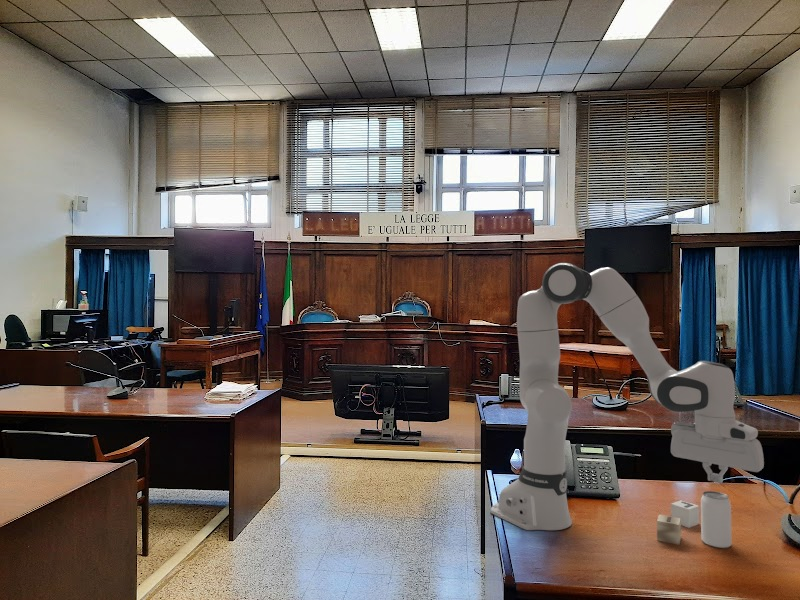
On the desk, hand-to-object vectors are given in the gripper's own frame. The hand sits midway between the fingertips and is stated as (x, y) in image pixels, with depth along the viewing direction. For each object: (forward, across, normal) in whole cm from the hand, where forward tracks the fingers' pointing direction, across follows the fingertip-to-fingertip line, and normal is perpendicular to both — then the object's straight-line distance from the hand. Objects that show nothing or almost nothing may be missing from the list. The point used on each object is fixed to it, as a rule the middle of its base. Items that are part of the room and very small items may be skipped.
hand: (715, 481), depth 133 cm
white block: (+15, -10, +8) cm, 20 cm away
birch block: (+15, -9, -6) cm, 19 cm away
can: (+15, 0, 0) cm, 16 cm away
